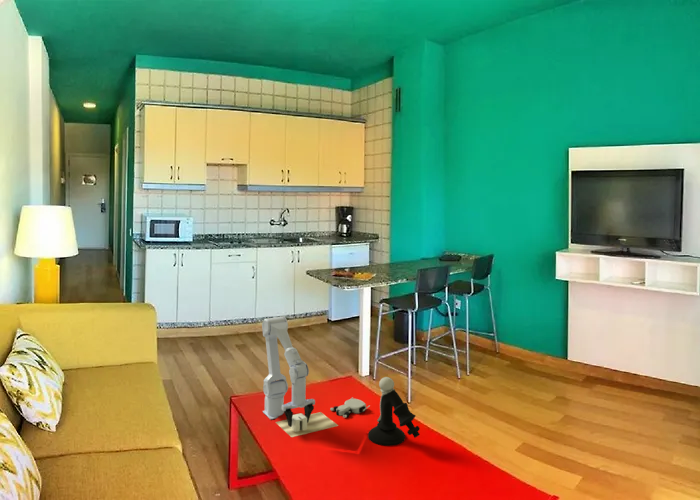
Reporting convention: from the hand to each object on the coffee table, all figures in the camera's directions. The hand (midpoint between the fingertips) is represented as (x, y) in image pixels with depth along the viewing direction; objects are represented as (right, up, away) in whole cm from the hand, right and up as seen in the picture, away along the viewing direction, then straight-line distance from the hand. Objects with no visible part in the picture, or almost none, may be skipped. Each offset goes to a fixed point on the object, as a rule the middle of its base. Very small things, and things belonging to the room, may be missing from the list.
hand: (298, 423), depth 218 cm
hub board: (+3, -3, +5) cm, 6 cm away
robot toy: (+21, -2, +19) cm, 29 cm away
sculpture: (+40, -5, -7) cm, 40 cm away
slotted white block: (0, -2, 0) cm, 2 cm away
